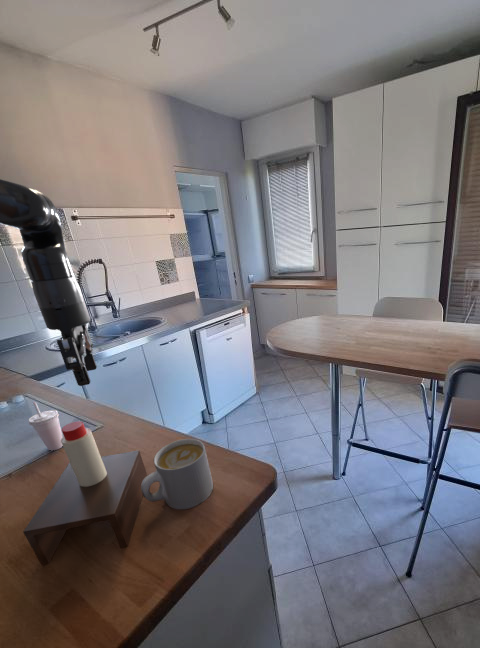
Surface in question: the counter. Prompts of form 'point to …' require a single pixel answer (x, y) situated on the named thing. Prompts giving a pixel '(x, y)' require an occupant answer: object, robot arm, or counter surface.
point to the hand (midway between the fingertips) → (88, 376)
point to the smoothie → (47, 427)
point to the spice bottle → (83, 454)
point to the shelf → (89, 504)
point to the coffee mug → (180, 475)
